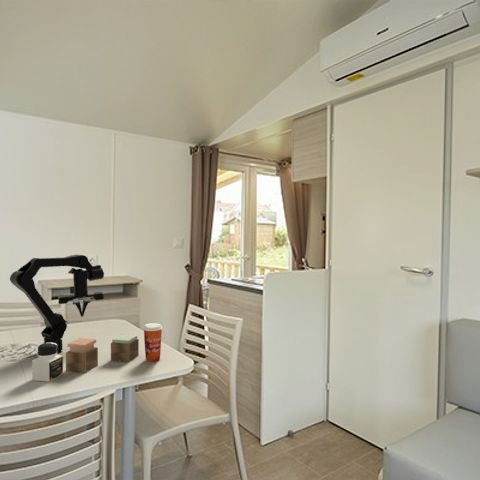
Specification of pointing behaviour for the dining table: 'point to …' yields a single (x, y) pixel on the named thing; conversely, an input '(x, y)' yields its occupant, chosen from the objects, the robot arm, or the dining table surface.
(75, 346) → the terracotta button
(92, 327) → the dining table surface
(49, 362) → the medicine bottle
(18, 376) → the dining table surface
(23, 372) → the dining table surface
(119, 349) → the block
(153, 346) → the paper cup
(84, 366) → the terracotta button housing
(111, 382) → the dining table surface
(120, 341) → the sage button
